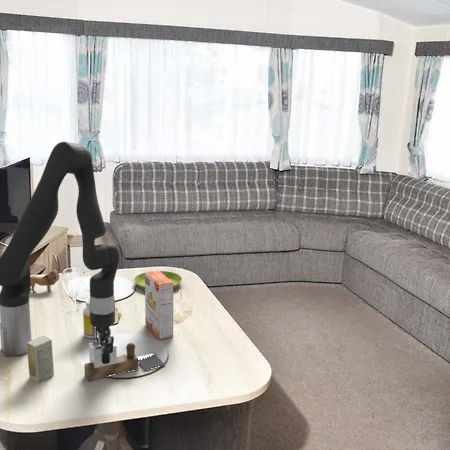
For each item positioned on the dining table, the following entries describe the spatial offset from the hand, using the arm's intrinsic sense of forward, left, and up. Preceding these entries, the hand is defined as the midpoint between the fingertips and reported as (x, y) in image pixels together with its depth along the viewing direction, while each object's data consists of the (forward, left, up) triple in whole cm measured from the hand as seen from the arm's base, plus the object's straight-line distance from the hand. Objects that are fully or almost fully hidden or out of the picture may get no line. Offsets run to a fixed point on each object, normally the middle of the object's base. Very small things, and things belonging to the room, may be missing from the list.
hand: (103, 359), depth 181 cm
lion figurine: (-1, +77, -6) cm, 77 cm away
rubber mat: (+16, +1, -5) cm, 17 cm away
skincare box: (-17, +7, -6) cm, 19 cm away
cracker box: (+28, +21, -6) cm, 35 cm away
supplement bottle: (+6, +28, -6) cm, 29 cm away
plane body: (+3, 0, -5) cm, 6 cm away
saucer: (+46, +63, -6) cm, 78 cm away
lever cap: (0, 0, -1) cm, 1 cm away
